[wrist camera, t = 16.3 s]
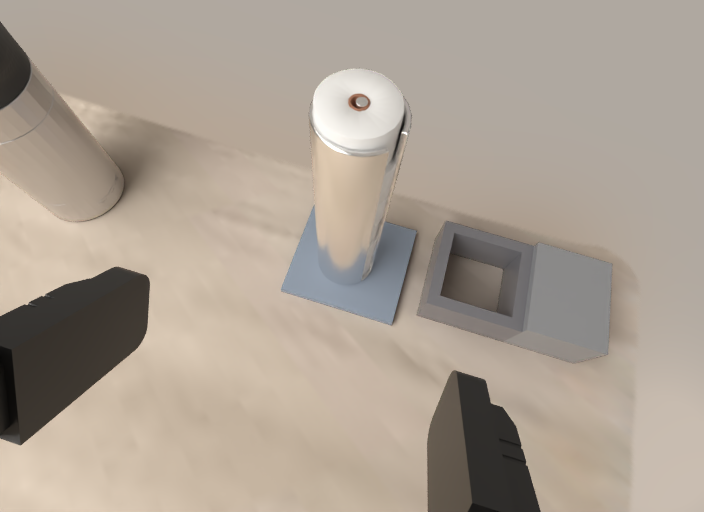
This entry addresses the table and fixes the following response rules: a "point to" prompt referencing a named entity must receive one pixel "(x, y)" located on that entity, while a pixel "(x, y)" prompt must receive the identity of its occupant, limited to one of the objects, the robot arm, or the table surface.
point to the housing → (526, 295)
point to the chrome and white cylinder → (354, 167)
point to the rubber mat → (364, 297)
